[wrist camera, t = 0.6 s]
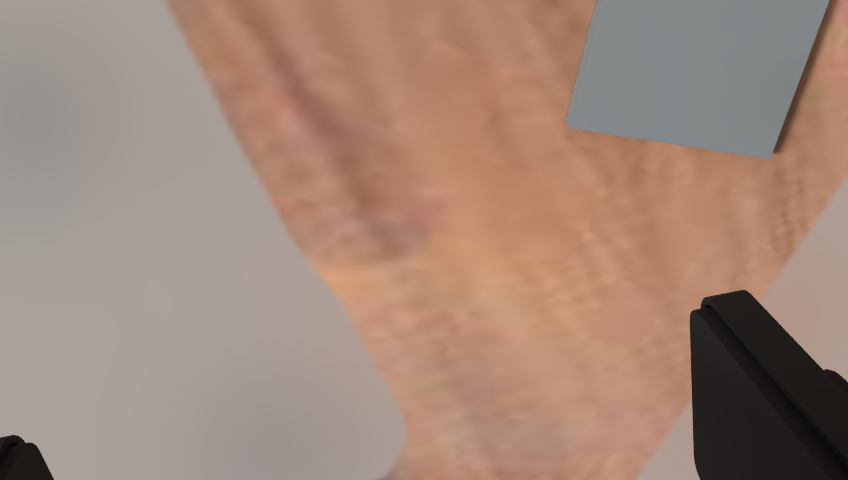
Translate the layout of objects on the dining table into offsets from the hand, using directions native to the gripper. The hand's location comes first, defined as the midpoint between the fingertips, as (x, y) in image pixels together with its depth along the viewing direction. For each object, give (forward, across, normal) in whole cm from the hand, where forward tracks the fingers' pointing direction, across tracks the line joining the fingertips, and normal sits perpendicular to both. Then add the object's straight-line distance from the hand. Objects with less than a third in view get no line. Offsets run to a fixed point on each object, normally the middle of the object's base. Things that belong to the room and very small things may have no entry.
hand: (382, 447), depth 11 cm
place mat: (+30, -17, +3) cm, 34 cm away
